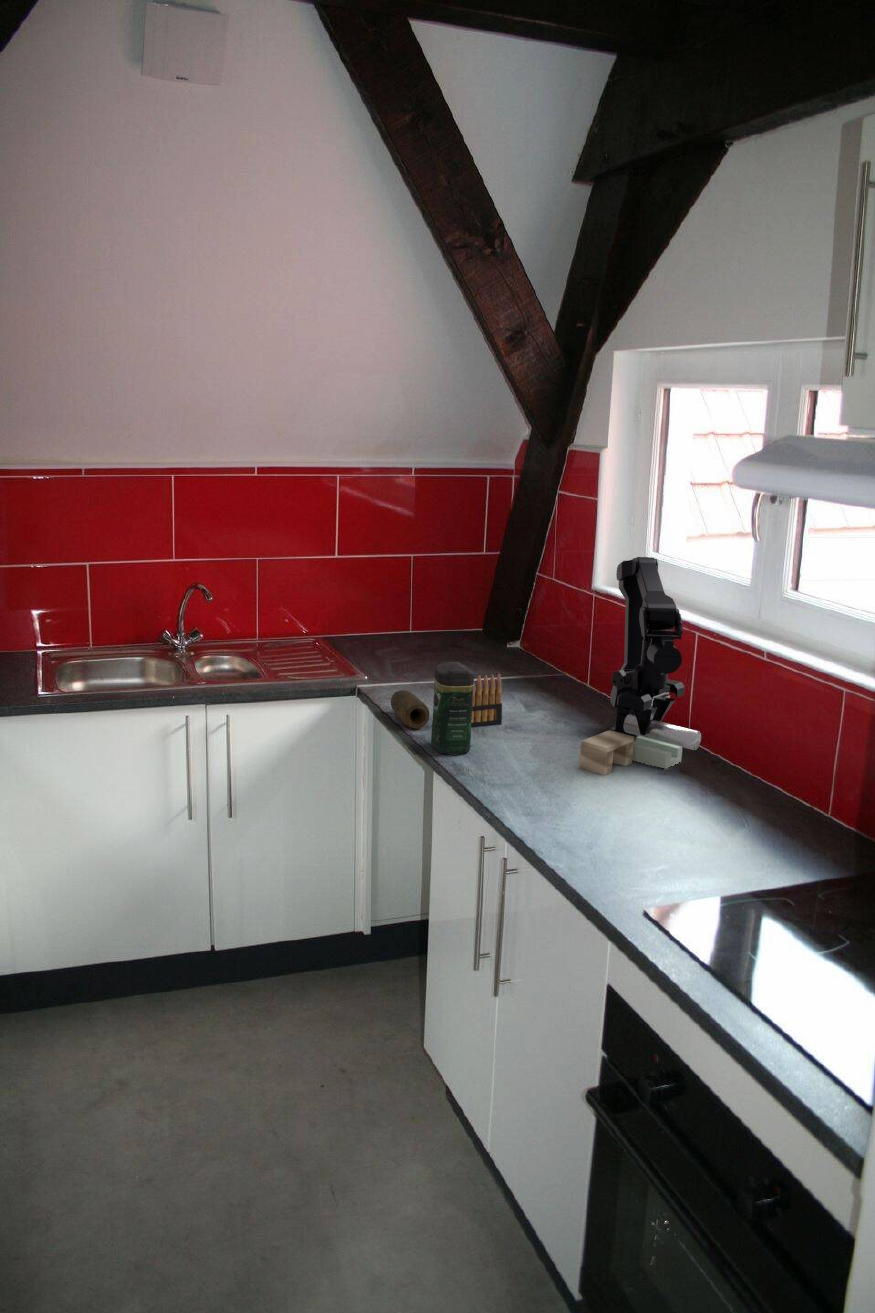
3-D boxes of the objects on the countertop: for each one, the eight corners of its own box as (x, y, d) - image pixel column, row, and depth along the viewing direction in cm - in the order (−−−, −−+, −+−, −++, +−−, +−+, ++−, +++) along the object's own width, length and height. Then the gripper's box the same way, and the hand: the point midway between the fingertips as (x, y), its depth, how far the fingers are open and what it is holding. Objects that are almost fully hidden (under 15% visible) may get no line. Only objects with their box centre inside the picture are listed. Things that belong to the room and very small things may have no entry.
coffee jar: (474, 755, 231) (479, 669, 227) (437, 756, 229) (441, 670, 225) (463, 741, 240) (467, 658, 236) (427, 742, 239) (431, 658, 234)
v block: (639, 750, 239) (640, 735, 239) (681, 762, 233) (682, 746, 232) (622, 757, 234) (624, 742, 233) (665, 769, 228) (666, 753, 227)
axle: (622, 733, 235) (624, 715, 234) (632, 730, 238) (634, 712, 237) (690, 751, 225) (693, 733, 224) (699, 748, 228) (702, 729, 227)
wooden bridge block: (607, 756, 235) (609, 730, 233) (631, 763, 231) (634, 736, 230) (579, 767, 227) (581, 741, 225) (604, 775, 223) (606, 748, 221)
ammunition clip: (497, 722, 255) (500, 672, 253) (501, 724, 254) (505, 674, 251) (457, 726, 251) (459, 675, 248) (461, 729, 249) (463, 677, 246)
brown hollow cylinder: (434, 730, 247) (436, 702, 246) (405, 732, 245) (406, 703, 243) (413, 711, 261) (414, 684, 259) (385, 713, 259) (386, 686, 257)
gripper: (643, 647, 242) (636, 716, 245) (598, 661, 228) (592, 733, 231) (689, 657, 235) (681, 727, 239) (645, 671, 221) (638, 745, 224)
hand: (647, 732), depth 233 cm, fingers closed on axle, 4 cm apart
